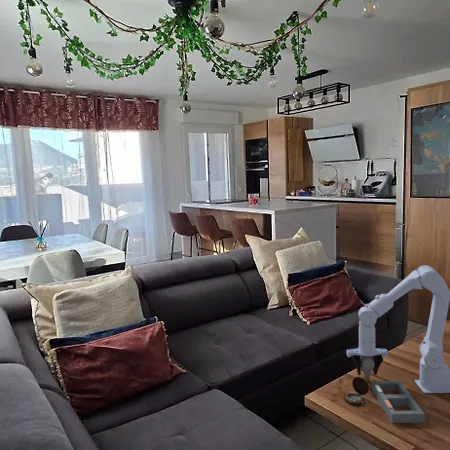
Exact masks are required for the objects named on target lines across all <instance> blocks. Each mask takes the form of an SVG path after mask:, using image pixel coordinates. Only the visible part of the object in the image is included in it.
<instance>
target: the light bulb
mask: <svg viewBox="0 0 450 450" xmlns="http://www.w3.org/2000/svg"><path fill="white" fill-rule="evenodd" d="M360 359H361V370H362V373H363V378H364V379H365V380H366V381H367V382H369V381H371V378H370V377H371V372H373V368H374V366H375V362H374V360H373V356H360Z"/></svg>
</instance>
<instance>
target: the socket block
mask: <svg viewBox="0 0 450 450" xmlns="http://www.w3.org/2000/svg"><path fill="white" fill-rule="evenodd" d="M371 390H372V392H373V394H374V396H375V397H376V398H377V401H378V402H379V404H380V405H381V407H382V409H383V410H384V412H385V414H386V416H387V417H388V419H389V420H390V422H391V423H392V424H396V423H397V424H409V423H411V424H413V423H414V424H415V423H418V424H419V423H422V424H423V423H425V422H426V413H425V412H424V411H423V409H422V408H421V406H420V405H419V404H418V403H417V402H416V400H415V398H413V396H412V395H411V393H410V392H409V390H407V388H406V387H405V386H404V384H403V383H402V381H401V380H380V381H379V380H377V381H376V380H374V381H371ZM384 392H397V393H398V394H385V393H384ZM394 407H408V409H410V410H395V408H394Z"/></svg>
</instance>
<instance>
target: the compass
mask: <svg viewBox="0 0 450 450" xmlns="http://www.w3.org/2000/svg"><path fill="white" fill-rule="evenodd" d="M352 388H353V390H354V391H355V392H350V393H347V394H345V395H344V401H345V402H346V403H347V404H349V405H352V406H360V405H361V406H362V405H363V406H364V405H365V404H367V402H366V401H364V398H363V396H366V395H367V394H368V393H369V391H370V385H369V383H368V381H366V380H365V379H364V376H363V377H362V376H361V375H358V376H355V377H354V378H353V379H352ZM364 403H365V404H364Z"/></svg>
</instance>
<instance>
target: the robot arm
mask: <svg viewBox="0 0 450 450" xmlns="http://www.w3.org/2000/svg"><path fill="white" fill-rule="evenodd" d="M423 287H424V288H425V289H427V290H428V291H430V292H431V293H432V301H431V306H430V307H431V308H430V313H429V318H428V324H427V329H426V335H425V336H424V337H423V339H422V340H423V341H422V342H421V343H420V344H419V347H418V351H419V353H420V354H421V358H420V360H419V379H415V380H414V382H415V384H416V385H417V386H418V387H419V389H420V390H421V391H422V392H423V393H424V394H447V393H449V394H450V367H449V365H448V364H447V363H445V358H444V355H443V354H444V347H443V340H444V339H443V338H444V334H445V333H444V332H445V328H446V327H445V326H446V323H447V316H448V311H449V305H450V289H449V287H448V285H447V283H446V281H445V279H444V278H443V276H441V274H440V273H439V272H438V271H437V270H436V269H434V268H433V267H432V266H431V265H427V264H424V265H423V264H422V265H419V266H418V267H417V269H415V270H413V271H412V272H411V273H409V274H408V275H407V276H406V277H405V278H404V279H402V281H400V282H399V283H398V284H397V285H396V286H395V287H393V288H392V289H391V290H390V291H389V292H388V293H381V294H377V295H375V297H374V298H375V299H373V300H372V301H371V302H369V303H366V304H365V306H362V307H360V309H358V312H357V315H358V319H359V322H358V325H359V326H358V347H356V348H351V349H346V355H347V357H348V358H351V357H352V359H353V362H354V364H355V367H356V368H355V369H356V373H357V375H358V376H361V373H362V372H361V370H362V368H361V359H360V358H361V357H362V356H371V357H372V358H373V360H374V362H375V366H374V368H373V370H372V373H373V374H374V376H376V375H377V374H378V371H379V369H380V366H381V365H382V363H383V362H384V357H388V356H389V355H388V354H389V353H388V352H389V351H388V350H387V349H386V348H376V327H375V325H376V323H377V320H378V318H380V317H382V316H383V315H384V314H386V313H387V312H388V311H389V310H391V309H392V308H393V307H394V302H395V301H397V300H398V299H399V298H401V297H403V296H404V295H405V294H407V293H408V292H410V291H412V290H423ZM383 356H384V357H383Z"/></svg>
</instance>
